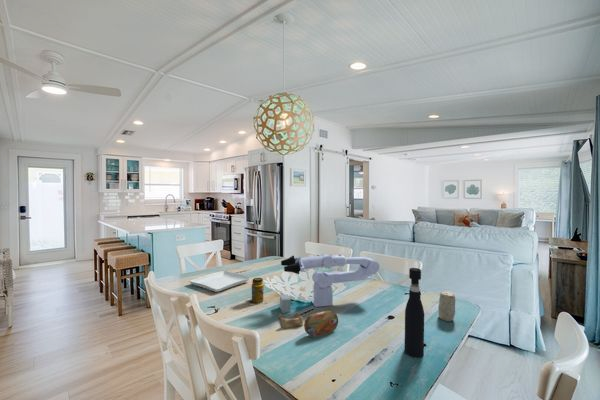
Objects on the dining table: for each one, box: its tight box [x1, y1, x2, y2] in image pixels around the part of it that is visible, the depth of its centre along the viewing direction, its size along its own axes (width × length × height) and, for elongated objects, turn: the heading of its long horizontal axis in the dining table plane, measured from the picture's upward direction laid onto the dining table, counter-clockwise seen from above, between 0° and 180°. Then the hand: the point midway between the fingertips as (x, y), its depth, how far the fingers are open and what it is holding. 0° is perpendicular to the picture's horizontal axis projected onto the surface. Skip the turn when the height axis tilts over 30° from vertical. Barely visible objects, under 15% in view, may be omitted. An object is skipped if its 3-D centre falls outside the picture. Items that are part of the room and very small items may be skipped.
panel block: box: [279, 294, 292, 314], centre depth 138 cm, size 4×7×6 cm, turn 14°
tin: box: [303, 310, 339, 338], centre depth 115 cm, size 15×3×8 cm, turn 117°
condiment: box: [245, 277, 267, 306], centre depth 147 cm, size 7×8×12 cm
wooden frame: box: [277, 311, 304, 329], centre depth 125 cm, size 9×11×4 cm
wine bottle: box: [404, 267, 425, 359], centre depth 101 cm, size 6×6×30 cm
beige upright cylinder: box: [437, 290, 456, 322], centre depth 128 cm, size 6×8×12 cm
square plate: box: [188, 270, 252, 293], centre depth 176 cm, size 27×27×4 cm
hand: (282, 266), depth 140 cm, fingers open, 7 cm apart
